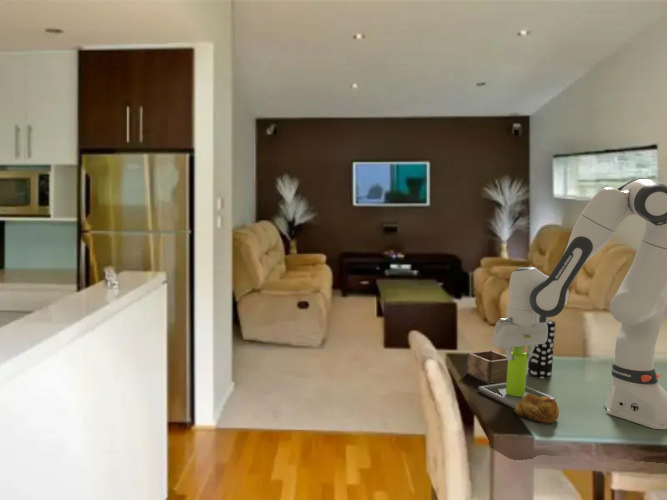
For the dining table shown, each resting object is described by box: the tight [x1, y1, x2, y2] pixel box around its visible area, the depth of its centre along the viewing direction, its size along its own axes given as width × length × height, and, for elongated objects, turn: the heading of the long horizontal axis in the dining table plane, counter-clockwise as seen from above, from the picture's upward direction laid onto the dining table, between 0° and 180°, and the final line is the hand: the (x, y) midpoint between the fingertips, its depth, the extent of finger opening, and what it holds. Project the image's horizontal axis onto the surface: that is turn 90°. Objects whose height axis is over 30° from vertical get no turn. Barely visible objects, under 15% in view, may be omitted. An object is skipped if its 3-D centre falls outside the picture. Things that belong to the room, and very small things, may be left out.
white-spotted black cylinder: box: [527, 319, 556, 380], centre depth 225 cm, size 8×8×20 cm
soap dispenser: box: [505, 335, 532, 396], centre depth 200 cm, size 6×7×20 cm
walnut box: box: [466, 349, 508, 384], centre depth 221 cm, size 12×11×8 cm
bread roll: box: [513, 394, 560, 425], centre depth 183 cm, size 13×10×8 cm
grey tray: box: [478, 382, 556, 409], centre depth 201 cm, size 18×16×2 cm
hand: (518, 359), depth 199 cm, fingers closed on soap dispenser, 6 cm apart
